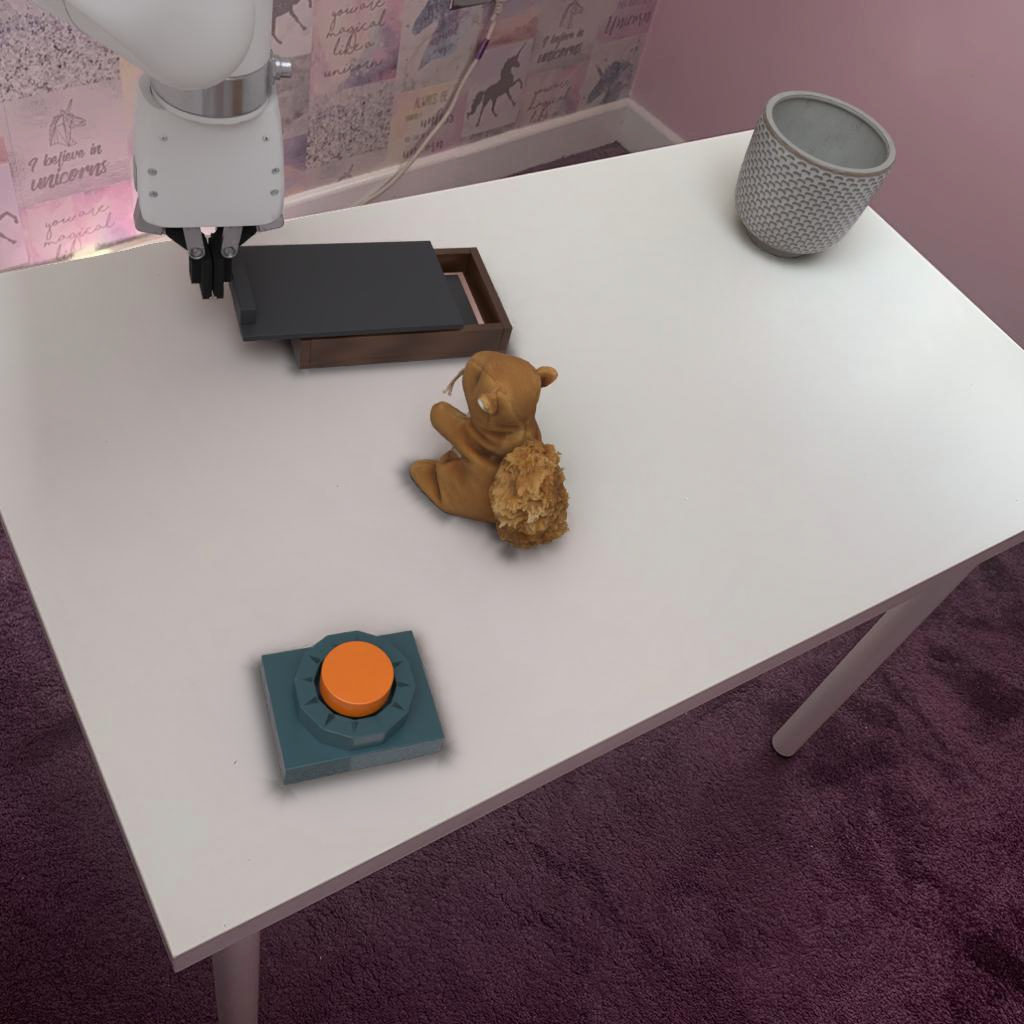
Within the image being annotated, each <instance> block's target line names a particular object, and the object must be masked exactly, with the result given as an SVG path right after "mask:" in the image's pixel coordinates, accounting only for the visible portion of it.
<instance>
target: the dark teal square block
mask: <svg viewBox="0 0 1024 1024" xmlns="http://www.w3.org/2000/svg"><path fill="white" fill-rule="evenodd" d="M351 641H362V642H367V643H370V644H373V645H375V646H377V647H378V648H380V649H381V650H382V651H383V652H384V653H385V654H386V655H387V656H388V658H389V659H390V661H391V663H392V666H393V670H394V679H393V683H392V687H391V690H390V694H389V697H388V699H387V701H386V702H385V704H384V705H383V706H382V707H381V708H380V709H379V710H377V711H376V712H374V713H372V714H370V715H367V716H362V717H349V716H345V715H342V714H340V713H338V712H336V711H334V710H333V709H331V708H330V707H329V706H328V705H327V704H326V702H325V701H324V699H323V697H322V695H321V692H320V687H319V682H320V675H321V669H322V665H323V662H324V659H325V658H326V656H327V655H328V653H329V652H330V651H331V650H333V649H334V648H335V647H337V646H339V645H341V644H343V643H346V642H351ZM259 673H260V678H261V683H262V687H263V692H264V697H265V701H266V702H265V703H266V706H267V711H268V716H269V721H270V727H271V731H272V734H273V741H274V745H275V749H276V754H277V758H278V759H277V760H278V764H279V768H280V773H281V777H282V782H283V785H285V786H286V785H291V784H294V783H299V782H304V781H309V780H313V779H318V778H323V777H328V776H333V775H337V774H341V773H346V772H351V771H355V770H356V771H357V770H360V769H365V768H370V767H375V766H379V765H383V764H389V763H393V762H394V763H395V762H398V761H404V760H409V759H413V758H416V757H422V756H427V755H431V754H436V753H440V751H441V747H442V745H443V743H444V740H445V733H444V731H443V727H442V724H441V721H440V718H439V715H438V710H437V707H436V704H435V701H434V697H433V695H432V692H431V691H432V690H431V688H430V685H429V681H428V679H427V675H426V671H425V668H424V665H423V661H422V658H421V656H420V652H419V648H418V645H417V642H416V639H415V636H414V632H413V630H412V629H411V630H405V631H399V632H393V633H392V632H391V633H386V634H381V635H375V634H371V633H367V632H364V631H361V630H350V631H345V632H344V631H343V632H338V633H332V634H327V635H325V636H324V637H322V639H320V640H318V642H316V643H315V644H313V645H312V646H310V647H304V648H298V649H297V648H296V649H291V650H285V651H279V652H274V653H267V654H262V655H261V658H260V669H259Z"/></svg>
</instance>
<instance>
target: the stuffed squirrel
mask: <svg viewBox="0 0 1024 1024" xmlns="http://www.w3.org/2000/svg"><path fill="white" fill-rule="evenodd" d="M558 377H559V373H558V370H557V369H556V368H555V367H553V366H549V365H546V366H545V365H542V366H540V367H538V368H535V366H533V364H531V362H529V361H528V360H526V359H524V358H522V357H520V356H517V355H516V356H515V355H511V354H507V353H505V354H504V353H500V352H494V351H481V352H478V353H475V354H474V355H473V356H472V357H470V358H469V359H468V360H467V361H466V364H465V366H464V367H463V368H461V370H460V371H458V372H457V374H456V375H455V376H454V377H453V378H452V379H451V380H450V382H449V383H448V385H447V386H446V387H445V389H444V390H442V393H443V394H447V395H448V396H449V397H452V391H453V388H454V386H455V383H456V382H457V380H458V379H459V378H461V385H462V390H463V395H464V399H465V401H466V406H467V409H468V412H467V413H464V412H463V411H461V410H460V409H458V408H457V407H455V406H454V405H452V404H451V403H449V402H447V401H442V400H441V401H439V402H437V403H436V402H435V403H433V404H432V406H431V409H430V411H429V420H430V423H431V426H432V427H433V429H434V430H435V431H436V432H437V433H438V434H439V435H440V436H441V437H442V438H444V439H445V440H446V441H447V442H448V443H449V444H450V445H451V446H452V448H451V449H450V450H449V451H447V452H445V453H443V454H442V455H441V456H440V457H439V459H438V460H435V459H432V458H431V459H430V458H428V459H426V458H425V459H418V460H416V461H414V462H413V463H412V465H411V466H410V469H409V473H410V477H411V478H412V479H413V481H414V482H415V484H416V485H417V486H418V488H419V489H420V490H421V491H422V492H423V493H424V494H425V495H426V496H427V497H428V498H429V499H430V500H431V501H432V502H433V504H434V505H435V506H437V507H438V508H439V509H440V510H442V511H443V512H446V513H448V514H451V515H454V516H457V517H461V518H465V519H470V520H476V521H480V522H485V523H493V524H495V529H496V533H497V536H498V537H499V539H500V540H501V542H504V541H506V542H508V544H509V546H510V547H514V548H521V549H522V550H528V549H529V550H530V548H533V547H538V546H539V545H548V544H550V543H552V542H553V541H555V540H556V539H559V538H561V539H562V536H564V534H565V533H567V532H569V531H570V527H568V526H569V525H568V522H567V518H568V511H567V510H568V508H569V506H570V502H569V499H570V497H569V495H570V493H569V492H568V491H567V488H566V486H565V485H564V482H565V481H566V480H567V479H566V475H565V474H564V470H565V467H560V466H559V463H561V459H562V456H560V455H563V453H562V452H561V451H557V449H556V446H555V444H554V443H552V444H551V443H545V444H544V442H543V439H542V432H541V429H540V427H539V426H540V425H539V424H538V421H537V419H536V413H537V407H538V406H537V405H538V404H539V400H540V396H541V392H542V391H541V390H542V389H543V388H546V387H549V385H552V383H554V382H555V381H556V380H557V378H558ZM556 451H557V452H556Z"/></svg>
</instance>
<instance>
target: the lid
mask: <svg viewBox="0 0 1024 1024" xmlns="http://www.w3.org/2000/svg"><path fill="white" fill-rule="evenodd" d="M434 249H435V248H434V246H433V244H432V241H431V240H404V241H403V240H402V241H401V240H400V241H398V240H397V241H371V242H335V243H333V242H329V243H299V244H266V245H262V244H261V245H241V246H240V247H238V252H237V254H236V255H235V256H234V257H232V275H231V282H227V284H228V287H229V292H230V296H231V300H232V304H233V308H234V311H235V317H236V320H237V324H238V328H239V333H240V336H241V340H242V342H243V343H246V342H248V343H249V342H267V341H282V340H291V339H299V338H315V337H332V336H348V335H364V334H381V333H397V332H413V331H430V330H446V329H462V328H463V327H464V321H463V319H462V317H461V314H460V312H459V309H458V307H457V304H456V302H455V300H454V297H453V295H452V292H451V290H450V287H449V285H448V282H447V280H446V278H445V275H444V273H443V270H442V268H441V265H440V263H439V261H438V258H437V256H436V253H435V251H434Z"/></svg>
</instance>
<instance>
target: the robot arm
mask: <svg viewBox="0 0 1024 1024" xmlns="http://www.w3.org/2000/svg"><path fill="white" fill-rule="evenodd" d="M31 1H32V2H33V3H35V4H36V5H37V6H39V7H40V8H42V9H43V10H45V11H46V12H48V13H49V14H51V15H53V16H54V17H56V18H58V19H59V20H61V21H62V22H64V23H66V24H67V25H68V26H70V27H71V28H74V29H75V30H77V31H78V32H79V33H82V34H83V35H85V36H86V37H88V38H90V39H93V40H94V41H96V42H97V43H99V44H100V45H102V46H103V47H105V48H106V49H108V50H109V51H111V52H113V53H115V54H116V55H117V56H119V57H121V58H123V59H124V60H126V61H127V62H129V63H130V64H132V65H133V66H134V67H136V68H137V69H139V70H140V71H142V72H143V73H142V74H140V76H139V78H138V81H137V86H136V90H135V96H134V97H135V98H134V105H133V114H132V115H133V116H132V117H133V118H132V175H133V185H134V190H135V191H136V192H137V198H136V201H135V202H136V203H135V206H134V210H133V215H132V217H133V218H132V219H133V222H134V228H135V229H136V231H138V232H141V233H146V234H152V235H156V236H157V235H158V236H162V235H164V236H167V237H168V238H169V239H170V240H171V241H173V242H175V243H176V244H177V245H178V246H180V247H181V248H182V249H184V250H185V251H186V252H187V254H188V273H189V279H190V284H191V285H195V284H196V285H198V287H199V289H200V294H201V298H202V300H210V299H211V298H216V300H218V299H219V300H220V299H224V298H225V283H228V282H231V275H232V257H234V256H235V255H236V254H237V252H238V247H240V246H243V244H245V243H247V241H248V240H250V239H251V238H252V237H253V236H255V235H256V234H257V233H258V232H259V233H264V232H269V231H272V230H277V229H280V228H283V227H284V225H285V219H284V215H283V212H284V207H285V155H284V154H285V153H284V136H283V124H282V116H281V109H280V102H279V97H278V92H277V87H276V85H275V82H276V81H281V79H292V76H293V75H292V74H293V66H292V59H291V57H290V56H280V55H279V54H277V53H276V54H275V53H274V51H273V49H272V47H271V45H272V27H273V9H274V0H31ZM201 228H214V229H215V231H214V232H210V236H208V238H207V236H206V234H205V233H204V232H203V231H202V230H201Z"/></svg>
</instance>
